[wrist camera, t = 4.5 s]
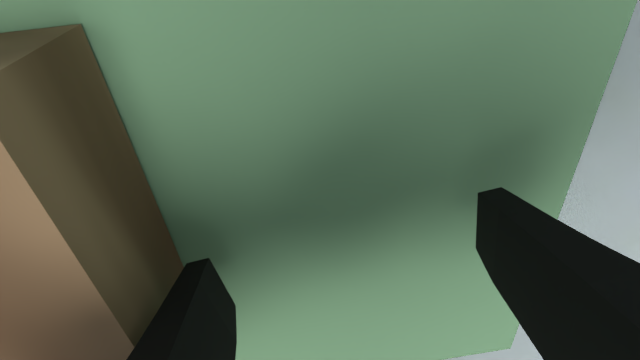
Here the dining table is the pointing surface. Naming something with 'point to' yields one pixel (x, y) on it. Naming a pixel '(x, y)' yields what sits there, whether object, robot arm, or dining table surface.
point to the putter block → (72, 209)
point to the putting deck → (349, 150)
